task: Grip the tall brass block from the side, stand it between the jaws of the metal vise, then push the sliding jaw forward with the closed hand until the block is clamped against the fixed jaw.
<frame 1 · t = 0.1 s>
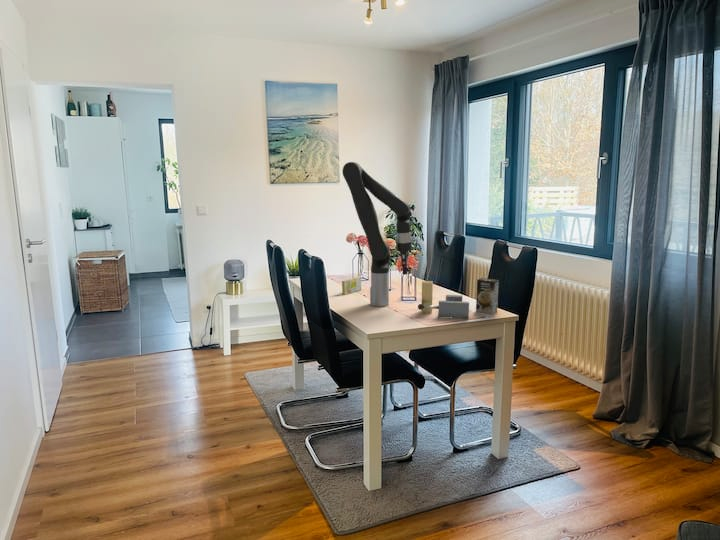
hand: (405, 272, 275), 17 cm above the table, tool pointing down, fingers open, 8 cm apart
moving jaw: (453, 303, 266), point 4 cm above the table, slide at 0.0 cm
coffee box: (486, 312, 266), on the table
vise: (453, 313, 262), on the table
candy box: (351, 293, 310), on the table
brass block: (426, 312, 265), on the table
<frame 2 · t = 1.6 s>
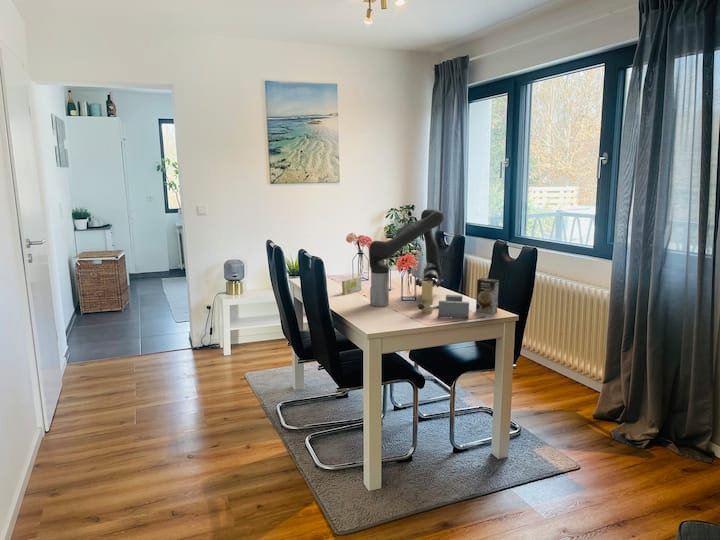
hand: (428, 285, 274), 11 cm above the table, tool horizontal, fingers open, 8 cm apart
nothing on the table moved.
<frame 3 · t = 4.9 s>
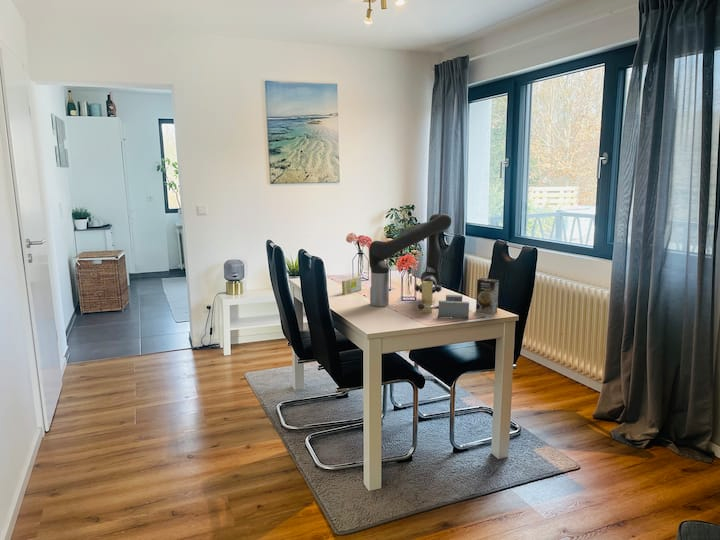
hand: (427, 291, 261), 11 cm above the table, tool horizontal, fingers closed on brass block, 5 cm apart
brass block: (426, 311, 265), on the table, touching gripper
everything else where it was.
when the fingers open (12 cm above the table, at t = 9.0 s): brass block drops 1 cm, resting in vise.
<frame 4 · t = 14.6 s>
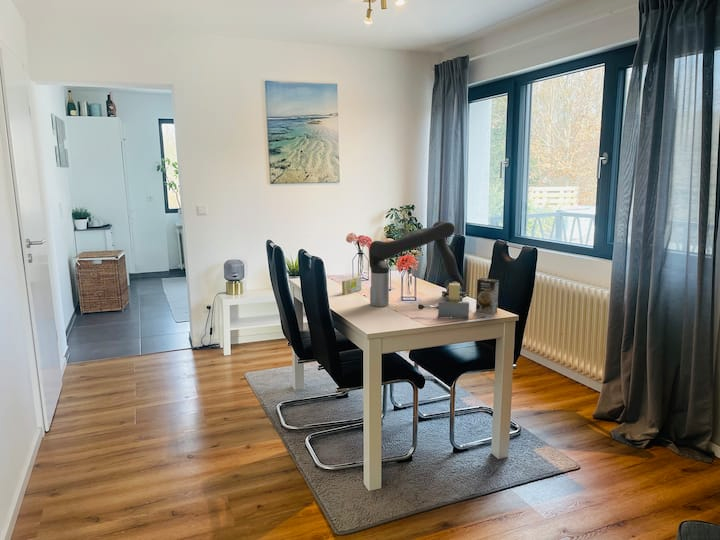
hand: (454, 297, 267), 6 cm above the table, tool horizontal, fingers closed
moving jaw: (453, 303, 265), point 4 cm above the table, slide at 1.1 cm, touching gripper
brass block: (453, 314, 260), resting in vise
everything else where it was.
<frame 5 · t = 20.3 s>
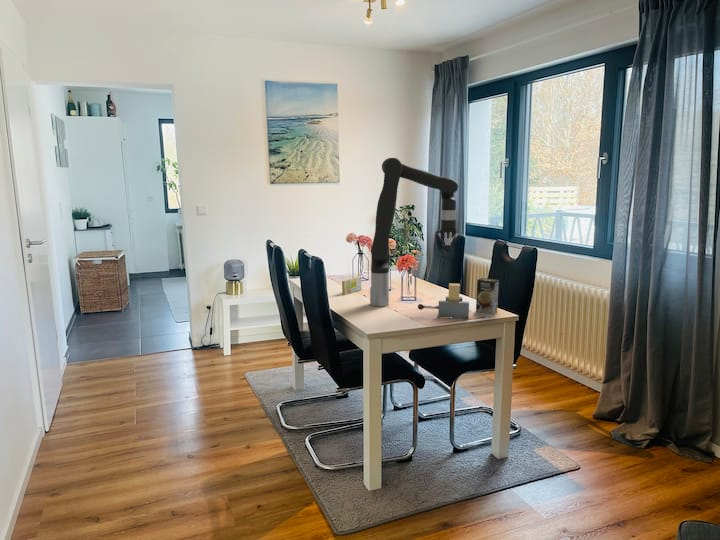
hand: (447, 252, 279), 27 cm above the table, tool pointing down, fingers closed
moving jaw: (453, 305, 263), point 4 cm above the table, slide at 3.7 cm, touching brass block
brass block: (453, 315, 259), resting in vise, touching moving jaw
everything else where it was.
at the end: moving jaw slide at 3.7 cm; brass block inside the target area (0.0 cm from its centre), resting in vise; brass block tilted 0° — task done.
